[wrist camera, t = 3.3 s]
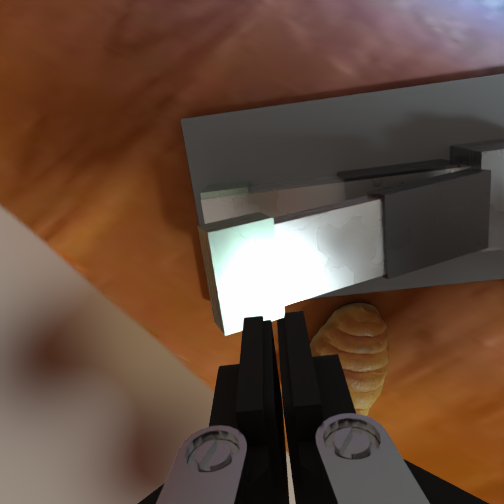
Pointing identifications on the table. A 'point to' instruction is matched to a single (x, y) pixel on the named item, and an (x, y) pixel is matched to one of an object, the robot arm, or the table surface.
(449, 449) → the table surface
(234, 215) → the stand
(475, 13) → the table surface
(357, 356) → the pastry
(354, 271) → the bar
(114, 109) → the table surface
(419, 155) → the slate mat
